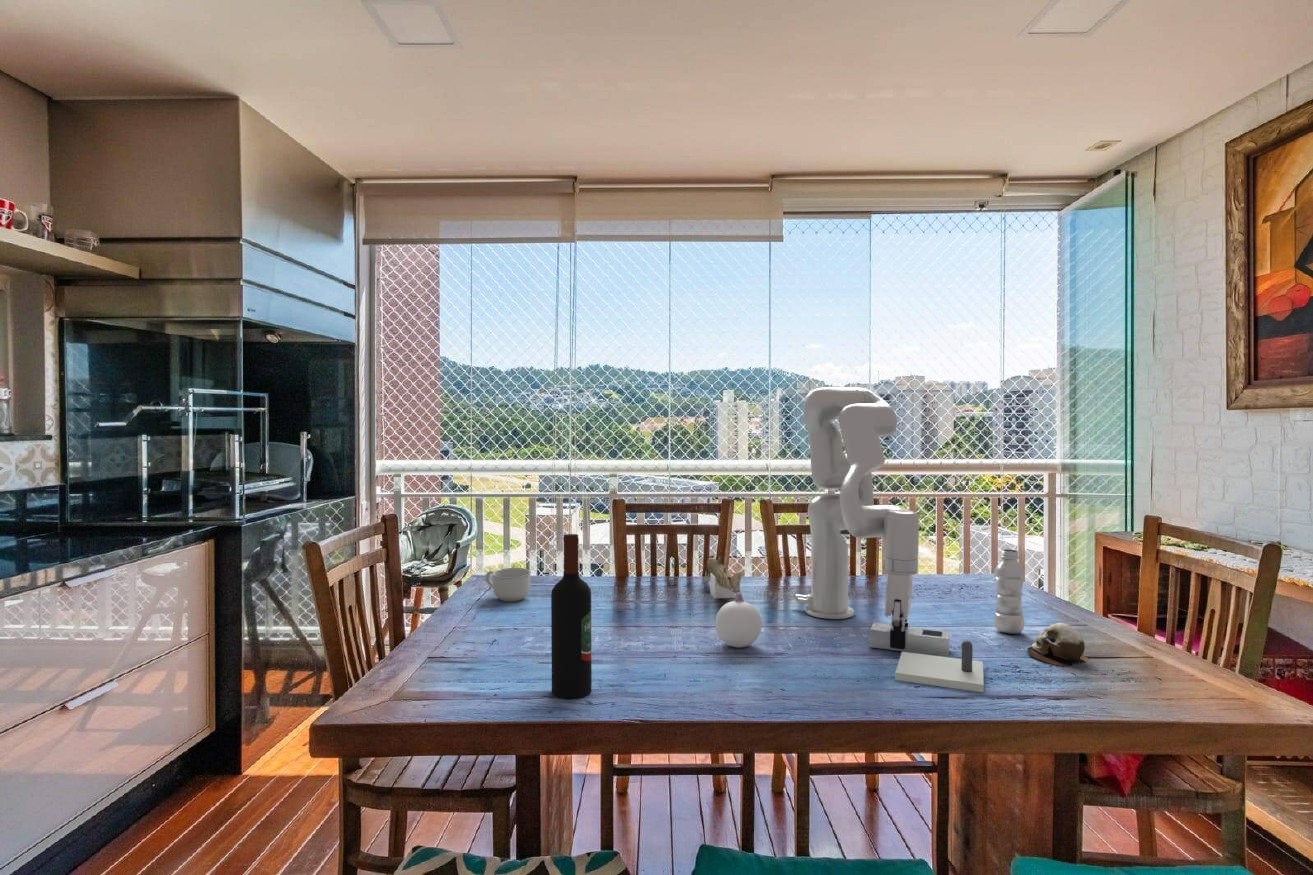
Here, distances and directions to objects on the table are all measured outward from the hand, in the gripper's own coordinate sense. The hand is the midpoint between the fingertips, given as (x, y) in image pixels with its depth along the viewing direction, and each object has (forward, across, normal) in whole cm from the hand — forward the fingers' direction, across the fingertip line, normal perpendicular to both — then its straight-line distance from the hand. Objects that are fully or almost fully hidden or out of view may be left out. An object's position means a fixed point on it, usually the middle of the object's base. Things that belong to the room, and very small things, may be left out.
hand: (899, 643), depth 164 cm
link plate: (+1, 0, +2) cm, 2 cm away
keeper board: (+1, +14, +9) cm, 17 cm away
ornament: (+1, +13, -34) cm, 36 cm away
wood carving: (+2, -28, -51) cm, 58 cm away
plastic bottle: (+1, -23, +23) cm, 33 cm away
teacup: (+2, -2, -108) cm, 108 cm away
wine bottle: (+1, +52, -55) cm, 76 cm away
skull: (+1, -7, +32) cm, 33 cm away
